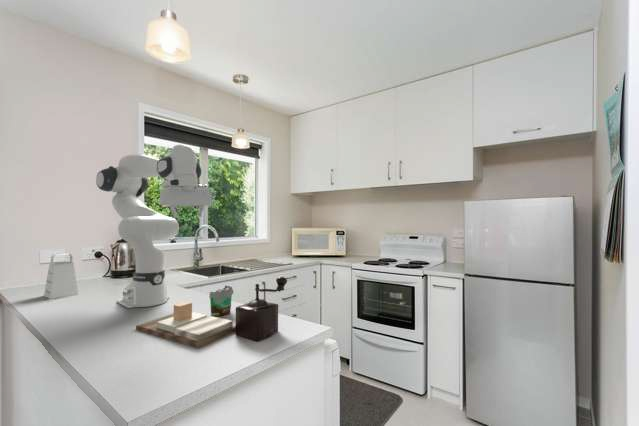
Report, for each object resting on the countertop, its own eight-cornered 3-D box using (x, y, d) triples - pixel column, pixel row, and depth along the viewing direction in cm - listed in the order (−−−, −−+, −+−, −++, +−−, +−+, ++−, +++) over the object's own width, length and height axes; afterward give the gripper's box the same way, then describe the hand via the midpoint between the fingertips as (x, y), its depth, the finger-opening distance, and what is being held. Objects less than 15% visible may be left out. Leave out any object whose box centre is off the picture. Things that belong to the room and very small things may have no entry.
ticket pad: (135, 329, 104) (135, 319, 104) (177, 316, 118) (177, 307, 118) (198, 348, 89) (198, 336, 89) (236, 330, 103) (236, 320, 103)
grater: (43, 295, 147) (44, 254, 147) (70, 291, 155) (71, 252, 155) (50, 299, 141) (51, 256, 141) (78, 294, 149) (78, 254, 149)
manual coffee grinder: (260, 343, 93) (260, 284, 94) (234, 335, 99) (234, 280, 99) (289, 327, 107) (289, 276, 107) (264, 321, 112) (265, 273, 113)
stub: (156, 327, 101) (157, 306, 101) (189, 316, 112) (190, 297, 112) (174, 333, 96) (174, 311, 96) (206, 320, 108) (207, 301, 108)
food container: (223, 319, 114) (223, 293, 114) (208, 318, 115) (209, 292, 116) (238, 310, 126) (239, 286, 126) (225, 309, 127) (225, 285, 128)
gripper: (206, 186, 134) (208, 217, 133) (157, 183, 118) (158, 218, 118) (213, 183, 129) (215, 215, 128) (163, 180, 114) (165, 216, 113)
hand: (188, 217), depth 123 cm, fingers open, 8 cm apart
